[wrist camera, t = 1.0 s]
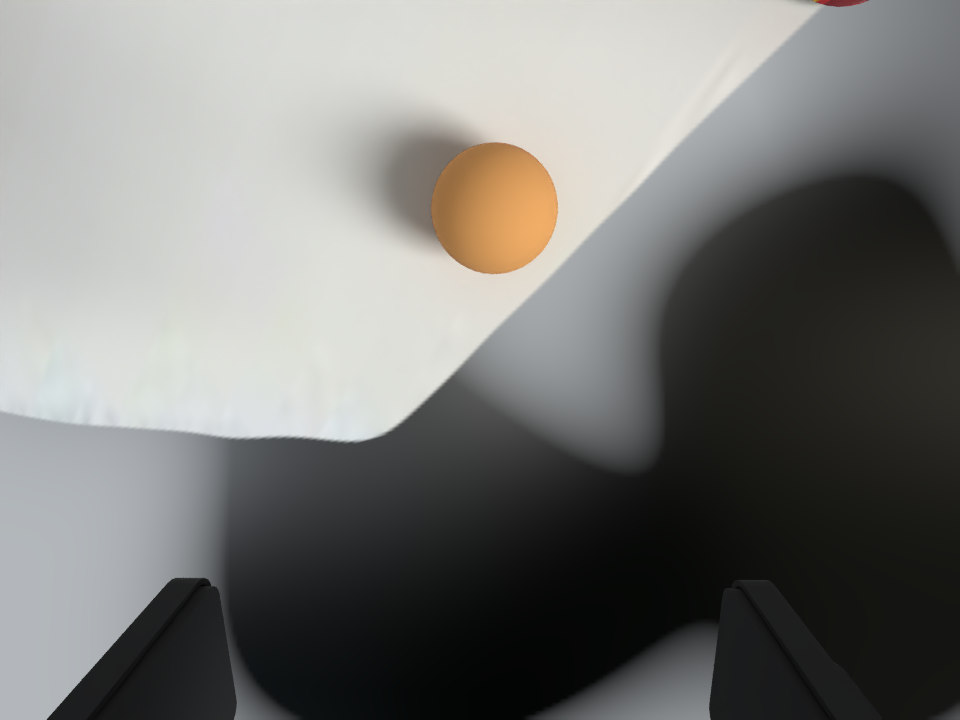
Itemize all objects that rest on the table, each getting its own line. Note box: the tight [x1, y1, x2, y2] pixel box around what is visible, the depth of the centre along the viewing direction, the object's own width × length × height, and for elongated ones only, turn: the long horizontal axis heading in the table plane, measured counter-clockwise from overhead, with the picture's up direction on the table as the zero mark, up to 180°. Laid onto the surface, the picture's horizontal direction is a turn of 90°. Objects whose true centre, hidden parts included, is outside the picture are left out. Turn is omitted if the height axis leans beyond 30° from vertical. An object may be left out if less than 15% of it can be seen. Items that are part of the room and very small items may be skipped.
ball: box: [431, 143, 558, 274], centre depth 26 cm, size 6×6×6 cm
